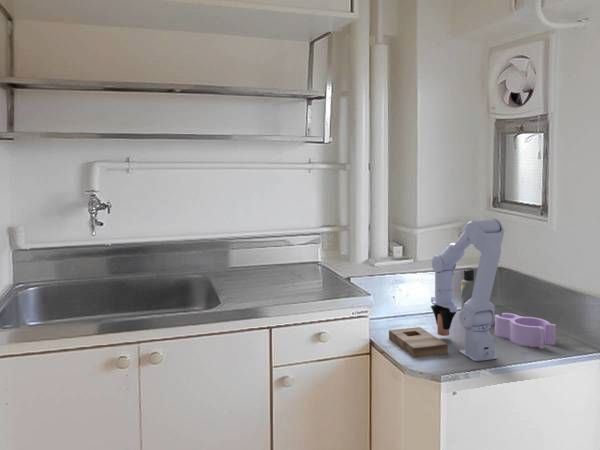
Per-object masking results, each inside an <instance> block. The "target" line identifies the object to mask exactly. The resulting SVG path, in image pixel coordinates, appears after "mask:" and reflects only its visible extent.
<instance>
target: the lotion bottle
mask: <svg viewBox="0 0 600 450" xmlns="http://www.w3.org/2000/svg"><path fill="white" fill-rule="evenodd" d="M460 284H461V285H460V286H461V287H460V289H461V293H460V295H461V296H460V299H461V300H460V301H461V302H460V311H461V310H462V309H463V306H464V303H466V302H467V301H468V300H469V299H470V298H471V297H472V293H473V288H474V284H475V269H474V268H471V267H467V268H464V269H463V279H462V280H461V283H460Z"/></svg>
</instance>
